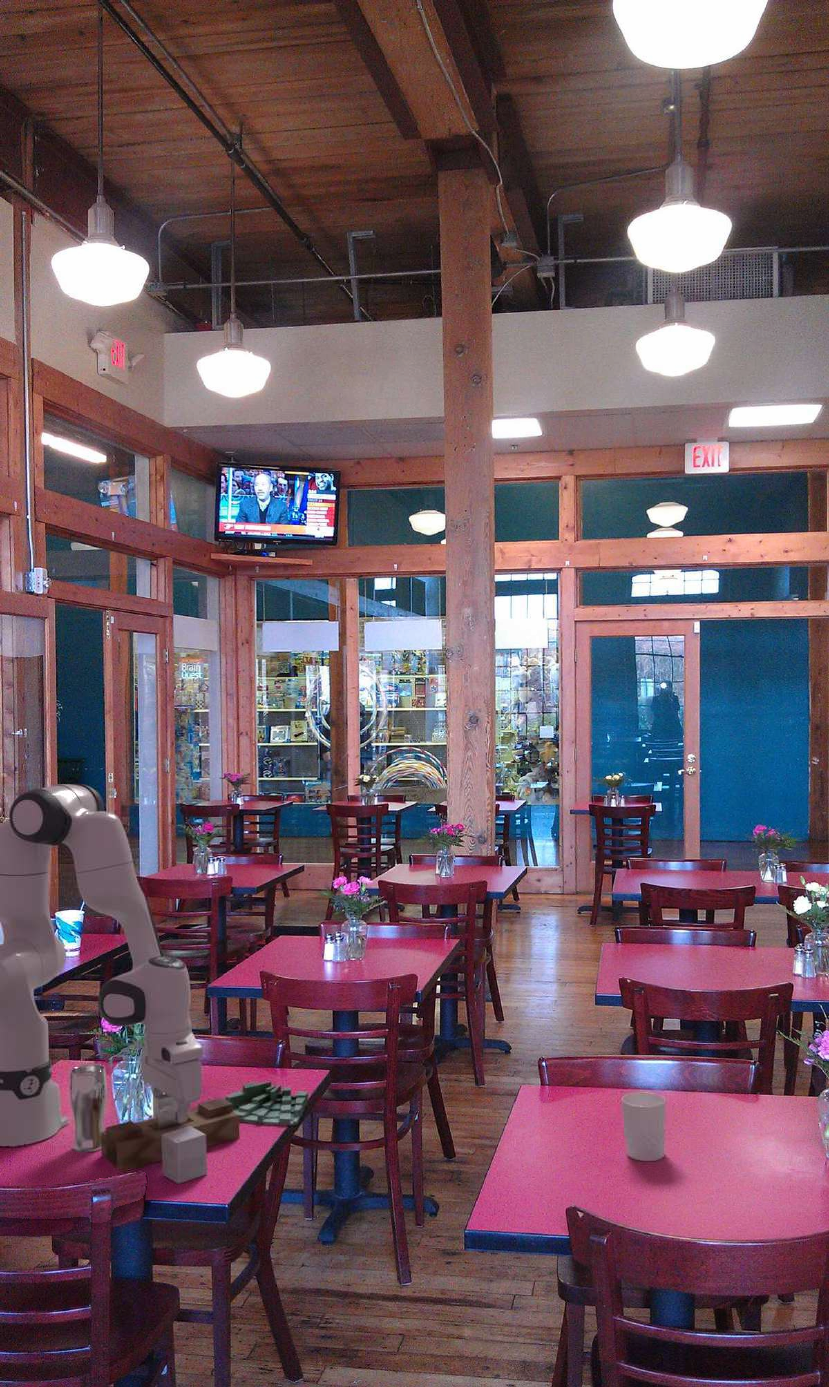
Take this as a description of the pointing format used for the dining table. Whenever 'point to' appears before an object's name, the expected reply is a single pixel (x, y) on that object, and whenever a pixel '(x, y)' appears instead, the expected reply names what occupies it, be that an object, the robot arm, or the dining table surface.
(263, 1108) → the money
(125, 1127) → the wooden display stand
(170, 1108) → the bracket
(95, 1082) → the beer glass
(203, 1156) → the product box
